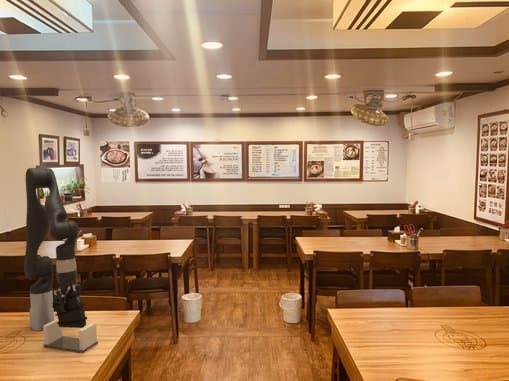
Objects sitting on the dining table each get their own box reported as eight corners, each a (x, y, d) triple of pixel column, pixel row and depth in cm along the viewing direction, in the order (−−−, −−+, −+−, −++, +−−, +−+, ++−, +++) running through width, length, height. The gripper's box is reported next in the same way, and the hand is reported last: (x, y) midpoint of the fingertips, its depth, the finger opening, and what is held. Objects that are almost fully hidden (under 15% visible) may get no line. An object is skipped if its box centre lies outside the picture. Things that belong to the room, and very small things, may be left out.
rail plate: (43, 347, 163) (43, 344, 163) (60, 337, 172) (60, 335, 172) (82, 353, 157) (82, 350, 157) (98, 343, 166) (97, 340, 166)
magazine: (88, 324, 161) (72, 292, 160) (63, 337, 163) (46, 305, 163) (93, 321, 164) (77, 289, 164) (68, 333, 166) (52, 301, 166)
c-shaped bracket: (44, 344, 164) (43, 325, 163) (59, 336, 171) (58, 318, 171) (83, 350, 158) (82, 331, 157) (97, 341, 165) (96, 323, 165)
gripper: (71, 264, 170) (74, 302, 171) (45, 273, 157) (48, 315, 158) (86, 265, 168) (88, 304, 169) (60, 274, 154) (63, 316, 155)
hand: (68, 309), depth 163 cm, fingers closed on magazine, 4 cm apart
